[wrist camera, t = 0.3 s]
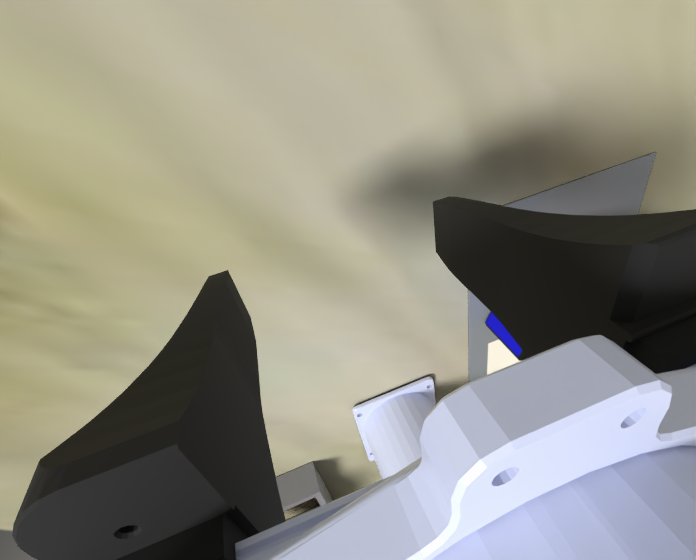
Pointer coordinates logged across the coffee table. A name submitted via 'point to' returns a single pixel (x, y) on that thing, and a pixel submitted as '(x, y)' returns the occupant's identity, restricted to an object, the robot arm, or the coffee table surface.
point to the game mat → (571, 198)
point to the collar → (302, 487)
